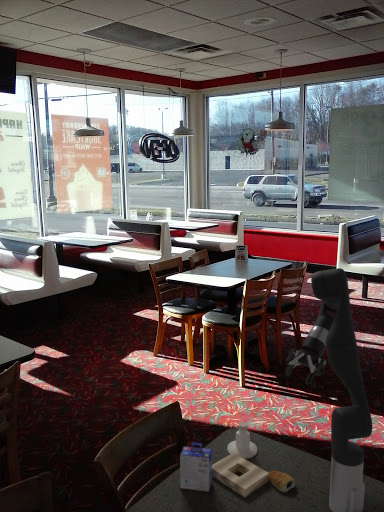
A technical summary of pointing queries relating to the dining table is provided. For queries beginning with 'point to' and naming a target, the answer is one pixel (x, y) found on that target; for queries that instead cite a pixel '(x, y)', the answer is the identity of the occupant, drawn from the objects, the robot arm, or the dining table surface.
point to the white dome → (244, 454)
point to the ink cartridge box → (196, 468)
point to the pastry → (281, 481)
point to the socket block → (246, 482)
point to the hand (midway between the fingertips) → (296, 379)
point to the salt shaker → (242, 437)
